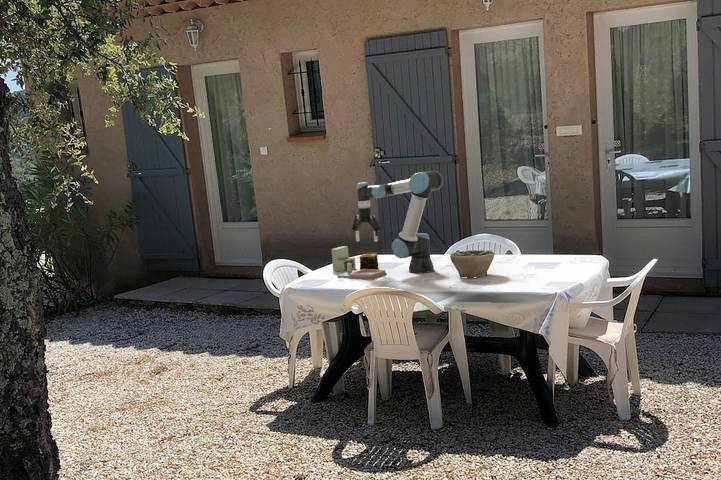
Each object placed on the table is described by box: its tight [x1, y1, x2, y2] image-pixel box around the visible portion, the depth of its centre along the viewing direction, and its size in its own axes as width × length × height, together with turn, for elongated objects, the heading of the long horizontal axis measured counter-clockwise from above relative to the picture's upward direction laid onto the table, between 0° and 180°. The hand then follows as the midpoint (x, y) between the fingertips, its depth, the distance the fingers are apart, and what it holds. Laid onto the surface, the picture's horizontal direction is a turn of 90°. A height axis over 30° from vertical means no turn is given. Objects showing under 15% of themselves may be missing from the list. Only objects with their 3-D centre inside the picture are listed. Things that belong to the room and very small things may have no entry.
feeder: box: [331, 245, 357, 273], centre depth 497 cm, size 9×12×14 cm
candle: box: [358, 253, 379, 270], centre depth 488 cm, size 10×10×10 cm
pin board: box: [337, 263, 388, 280], centre depth 473 cm, size 25×16×7 cm, turn 55°
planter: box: [449, 249, 495, 279], centre depth 450 cm, size 26×25×15 cm
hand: (367, 241), depth 486 cm, fingers open, 13 cm apart
